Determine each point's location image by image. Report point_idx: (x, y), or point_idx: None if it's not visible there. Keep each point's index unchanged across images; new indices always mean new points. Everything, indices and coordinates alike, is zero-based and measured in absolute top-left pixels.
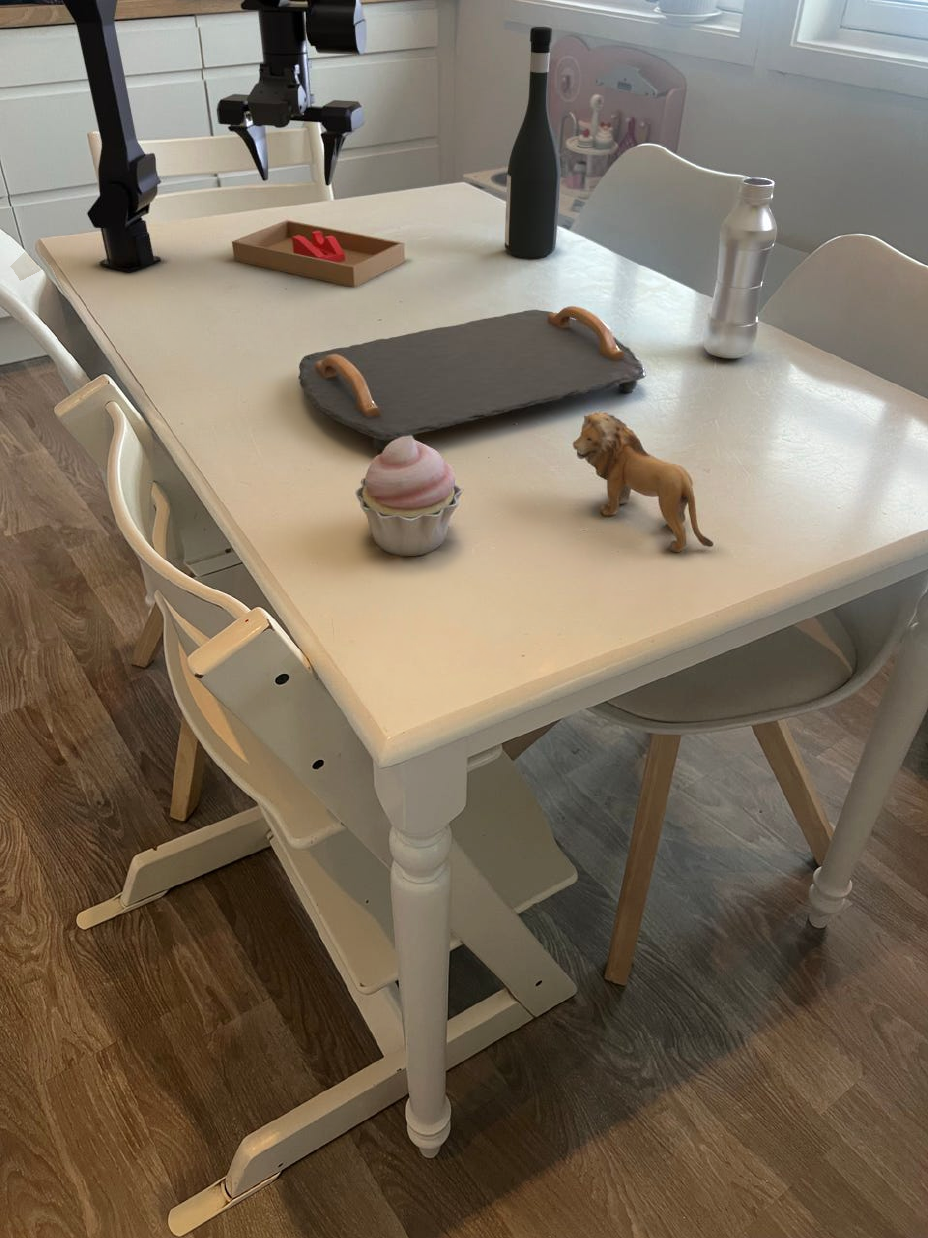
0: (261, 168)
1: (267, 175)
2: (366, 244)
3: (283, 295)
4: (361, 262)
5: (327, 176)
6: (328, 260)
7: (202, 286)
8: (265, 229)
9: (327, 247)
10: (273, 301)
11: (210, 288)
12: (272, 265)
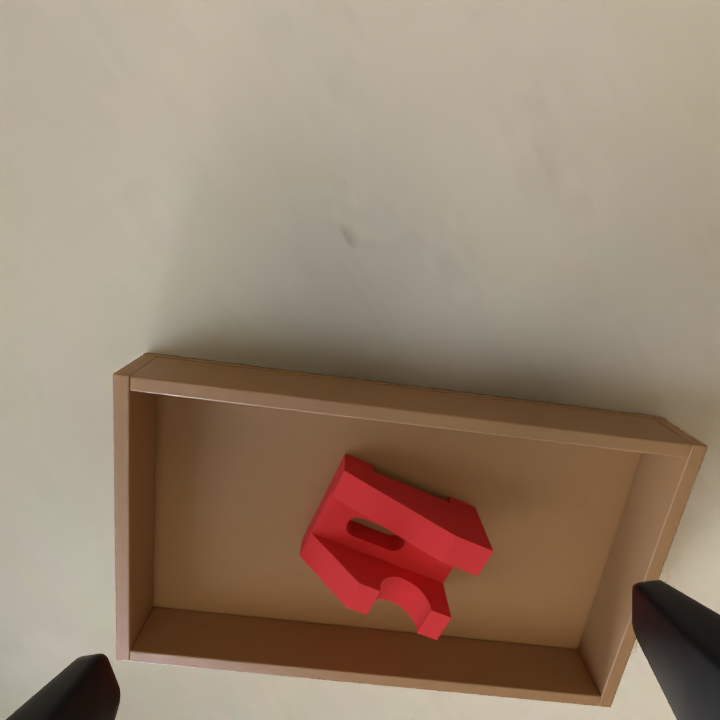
0: (717, 646)
1: (647, 648)
2: (272, 642)
3: (322, 172)
4: (119, 433)
5: (26, 714)
6: (327, 495)
7: (657, 127)
8: None
9: (362, 560)
10: (321, 95)
11: (617, 120)
12: (497, 399)
